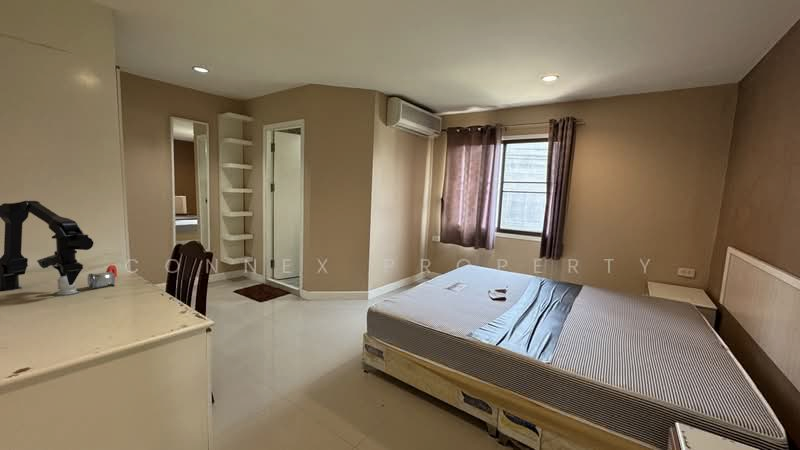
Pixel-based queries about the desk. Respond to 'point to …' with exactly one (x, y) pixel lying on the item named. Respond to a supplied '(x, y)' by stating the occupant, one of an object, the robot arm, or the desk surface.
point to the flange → (67, 293)
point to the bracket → (113, 269)
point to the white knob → (65, 285)
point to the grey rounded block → (101, 280)
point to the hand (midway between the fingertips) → (67, 283)
